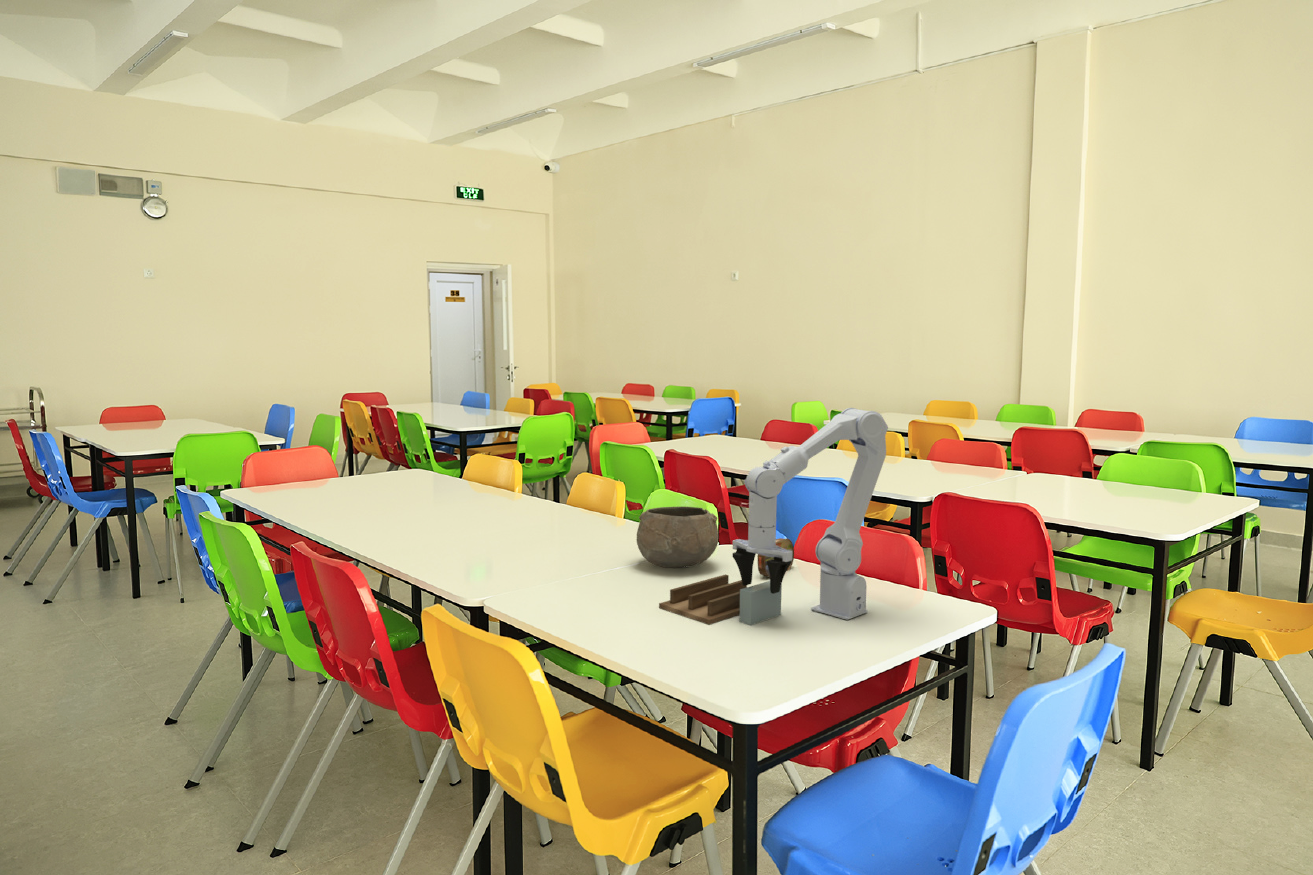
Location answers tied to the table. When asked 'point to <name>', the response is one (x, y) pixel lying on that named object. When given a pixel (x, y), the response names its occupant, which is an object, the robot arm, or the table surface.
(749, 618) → the grey stone cuboid
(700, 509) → the clay pot
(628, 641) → the table surface
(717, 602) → the rack
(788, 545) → the tin
